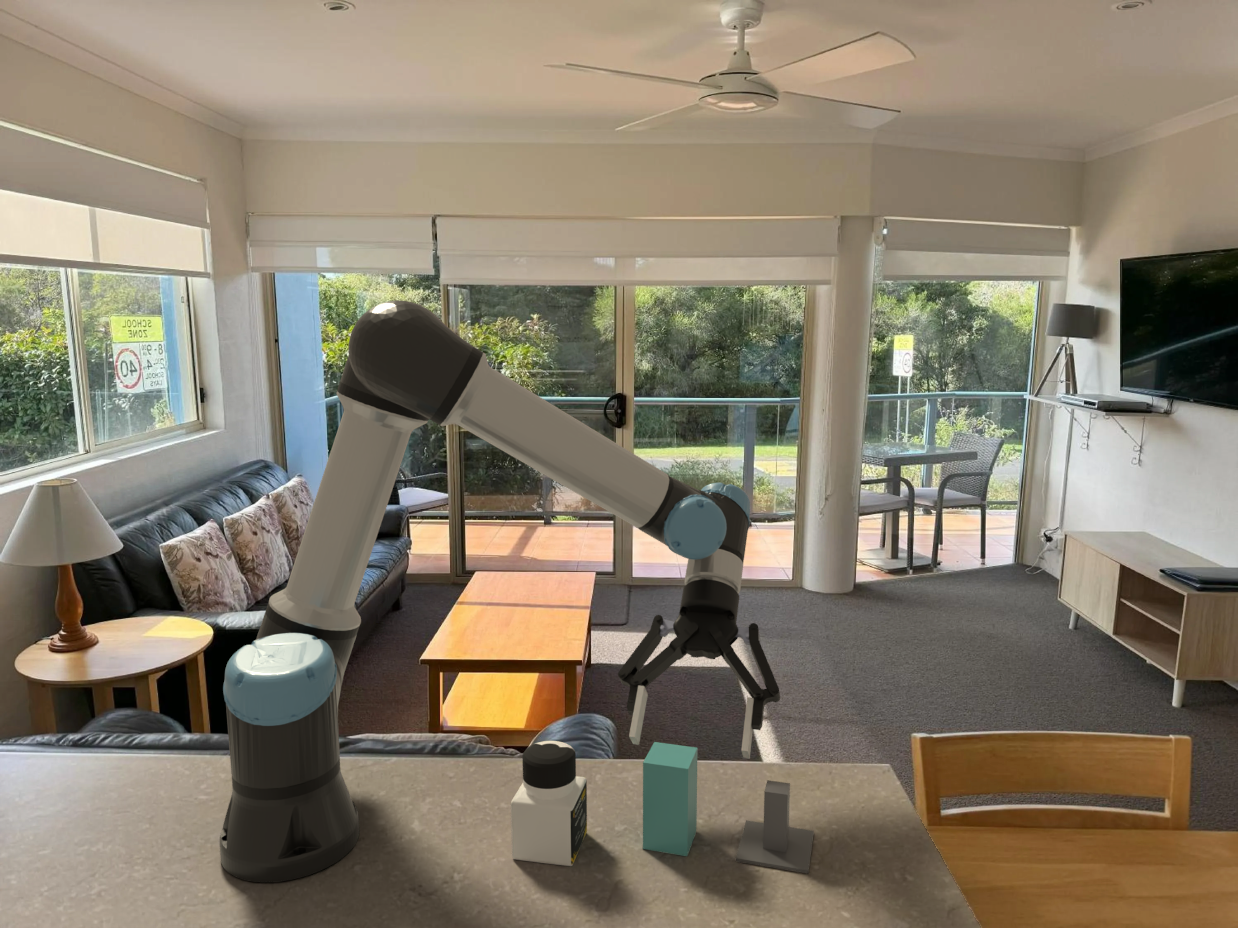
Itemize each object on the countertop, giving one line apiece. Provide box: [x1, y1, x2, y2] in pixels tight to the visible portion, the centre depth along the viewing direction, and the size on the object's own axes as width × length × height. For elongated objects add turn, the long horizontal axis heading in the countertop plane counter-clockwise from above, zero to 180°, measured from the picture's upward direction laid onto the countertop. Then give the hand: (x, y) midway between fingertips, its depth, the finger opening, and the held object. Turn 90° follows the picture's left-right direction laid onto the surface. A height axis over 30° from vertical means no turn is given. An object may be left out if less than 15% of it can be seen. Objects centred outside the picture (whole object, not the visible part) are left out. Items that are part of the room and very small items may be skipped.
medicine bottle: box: [510, 740, 588, 867], centre depth 101 cm, size 7×7×12 cm
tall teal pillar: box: [642, 741, 698, 857], centre depth 102 cm, size 5×5×11 cm
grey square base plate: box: [735, 779, 815, 874], centre depth 101 cm, size 8×8×7 cm
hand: (688, 747), depth 106 cm, fingers open, 13 cm apart
